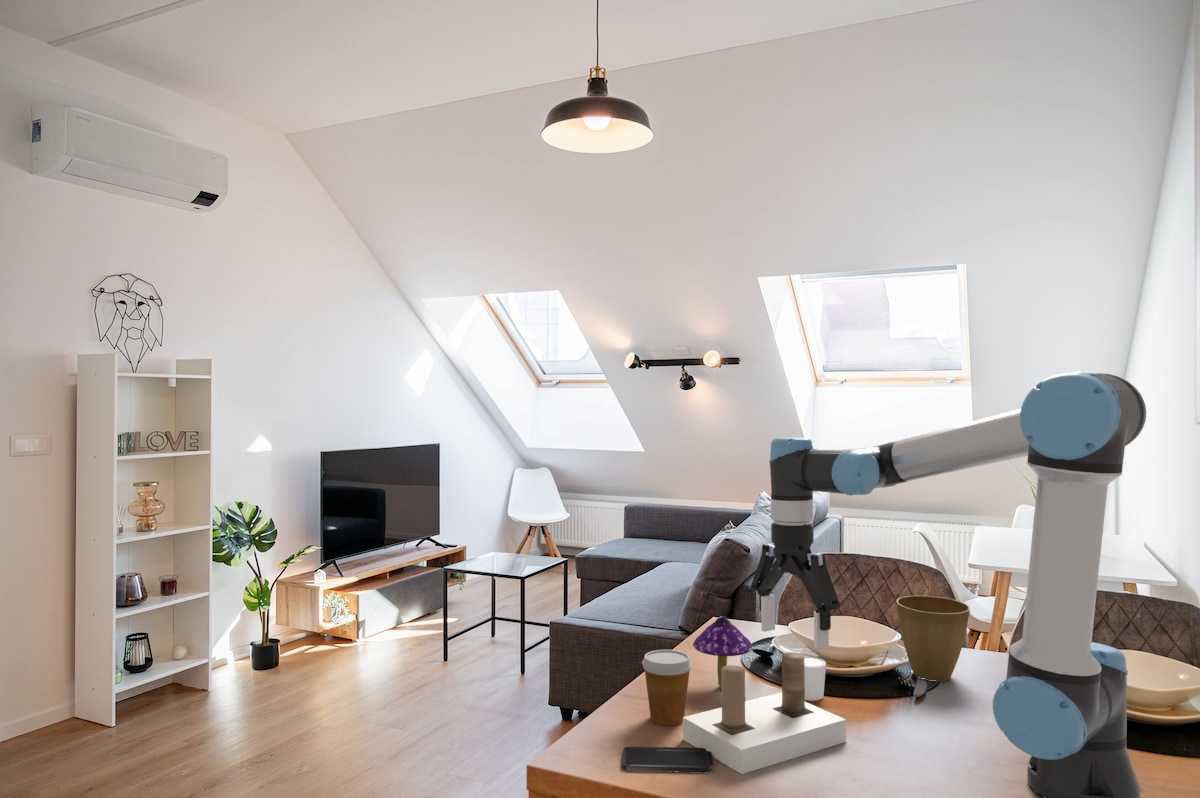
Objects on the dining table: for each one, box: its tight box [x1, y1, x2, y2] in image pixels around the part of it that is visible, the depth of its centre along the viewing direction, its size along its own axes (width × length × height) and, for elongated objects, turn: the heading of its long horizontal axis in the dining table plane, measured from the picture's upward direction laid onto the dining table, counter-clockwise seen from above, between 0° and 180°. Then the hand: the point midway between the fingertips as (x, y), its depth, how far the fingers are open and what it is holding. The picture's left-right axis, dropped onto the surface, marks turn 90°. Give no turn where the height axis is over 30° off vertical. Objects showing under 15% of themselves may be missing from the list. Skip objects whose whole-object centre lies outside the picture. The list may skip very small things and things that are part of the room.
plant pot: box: [896, 595, 971, 683], centre depth 181 cm, size 15×15×16 cm
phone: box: [621, 745, 714, 774], centre depth 140 cm, size 8×1×15 cm
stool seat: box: [682, 665, 847, 775], centre depth 148 cm, size 16×24×14 cm, turn 121°
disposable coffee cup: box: [641, 649, 693, 727], centre depth 158 cm, size 10×10×12 cm
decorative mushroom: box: [692, 615, 753, 688], centre depth 175 cm, size 12×12×15 cm
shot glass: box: [804, 656, 827, 701], centre depth 170 cm, size 7×7×7 cm
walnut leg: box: [781, 652, 806, 718], centre depth 151 cm, size 4×4×14 cm
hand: (793, 638), depth 151 cm, fingers open, 13 cm apart
